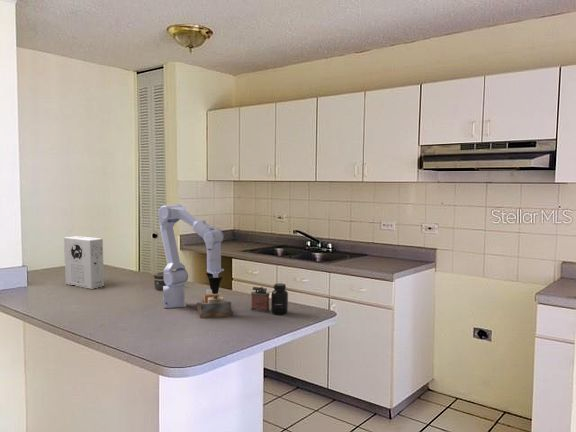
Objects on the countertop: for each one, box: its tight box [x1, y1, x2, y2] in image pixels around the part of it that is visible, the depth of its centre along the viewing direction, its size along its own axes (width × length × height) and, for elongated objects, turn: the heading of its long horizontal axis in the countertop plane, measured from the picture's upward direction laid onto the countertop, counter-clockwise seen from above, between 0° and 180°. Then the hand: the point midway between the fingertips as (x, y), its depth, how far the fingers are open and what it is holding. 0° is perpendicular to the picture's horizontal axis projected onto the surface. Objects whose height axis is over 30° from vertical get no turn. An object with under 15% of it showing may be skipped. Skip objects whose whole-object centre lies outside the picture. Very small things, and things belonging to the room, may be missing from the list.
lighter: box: [250, 286, 270, 313], centre depth 206 cm, size 8×3×10 cm, turn 71°
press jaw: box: [204, 288, 220, 303], centre depth 218 cm, size 6×12×3 cm, turn 14°
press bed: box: [196, 295, 233, 319], centre depth 211 cm, size 13×30×6 cm, turn 14°
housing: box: [208, 295, 224, 303], centre depth 203 cm, size 6×4×6 cm, turn 104°
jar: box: [153, 271, 166, 291], centre depth 247 cm, size 10×10×8 cm
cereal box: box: [63, 235, 105, 290], centre depth 253 cm, size 22×8×25 cm, turn 58°
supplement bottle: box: [270, 282, 289, 316], centre depth 202 cm, size 7×7×12 cm
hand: (214, 291), depth 202 cm, fingers open, 7 cm apart
